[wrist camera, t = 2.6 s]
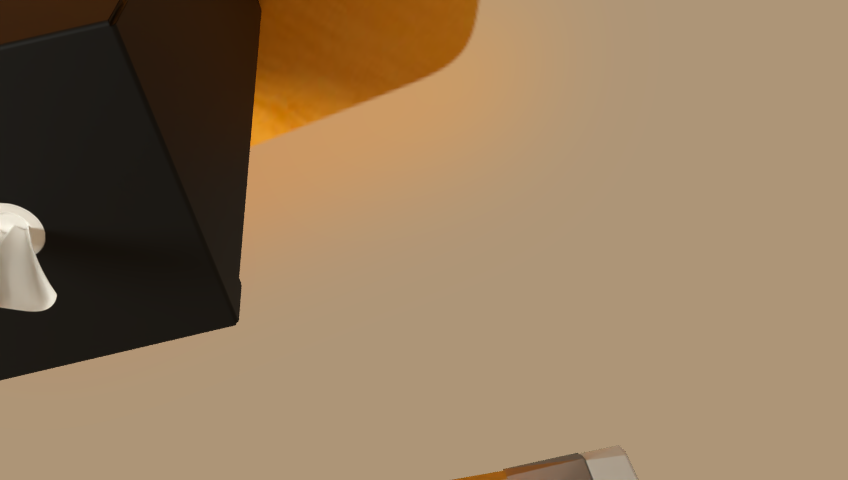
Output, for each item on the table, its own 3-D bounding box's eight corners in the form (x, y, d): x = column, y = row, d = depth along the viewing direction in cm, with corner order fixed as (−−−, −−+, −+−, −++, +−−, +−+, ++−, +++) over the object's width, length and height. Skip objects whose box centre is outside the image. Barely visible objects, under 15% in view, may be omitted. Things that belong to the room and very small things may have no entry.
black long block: (263, 12, 40) (232, 424, 17) (109, 47, 40) (-132, 510, 17) (211, -158, 36) (75, 86, 13) (38, -120, 36) (-420, 199, 12)
